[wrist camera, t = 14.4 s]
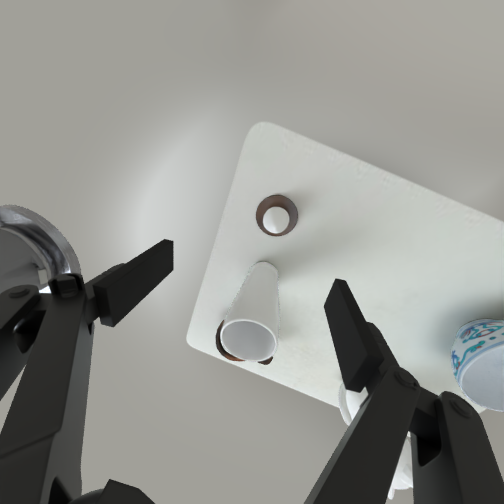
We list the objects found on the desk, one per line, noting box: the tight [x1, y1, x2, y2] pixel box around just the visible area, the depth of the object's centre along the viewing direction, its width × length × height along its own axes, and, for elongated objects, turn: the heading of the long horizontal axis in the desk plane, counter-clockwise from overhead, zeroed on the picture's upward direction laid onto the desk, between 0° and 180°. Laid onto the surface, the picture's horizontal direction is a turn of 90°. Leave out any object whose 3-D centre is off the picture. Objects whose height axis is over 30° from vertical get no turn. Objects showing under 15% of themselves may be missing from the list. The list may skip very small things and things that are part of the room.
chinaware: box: [451, 319, 504, 412], centre depth 30 cm, size 15×15×8 cm
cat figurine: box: [338, 383, 413, 500], centre depth 36 cm, size 9×12×15 cm
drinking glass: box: [220, 262, 280, 362], centre depth 29 cm, size 7×7×15 cm
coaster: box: [256, 195, 298, 236], centre depth 31 cm, size 6×6×1 cm
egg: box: [263, 207, 289, 233], centre depth 28 cm, size 4×4×6 cm
